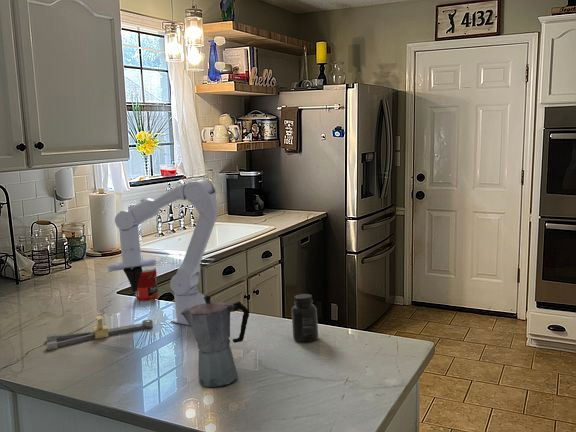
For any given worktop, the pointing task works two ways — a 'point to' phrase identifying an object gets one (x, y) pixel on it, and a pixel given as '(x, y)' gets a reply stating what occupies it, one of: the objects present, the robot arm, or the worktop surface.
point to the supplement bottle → (304, 319)
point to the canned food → (147, 284)
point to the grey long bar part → (92, 335)
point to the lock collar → (100, 329)
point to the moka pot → (215, 340)
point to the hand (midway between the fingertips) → (134, 290)
